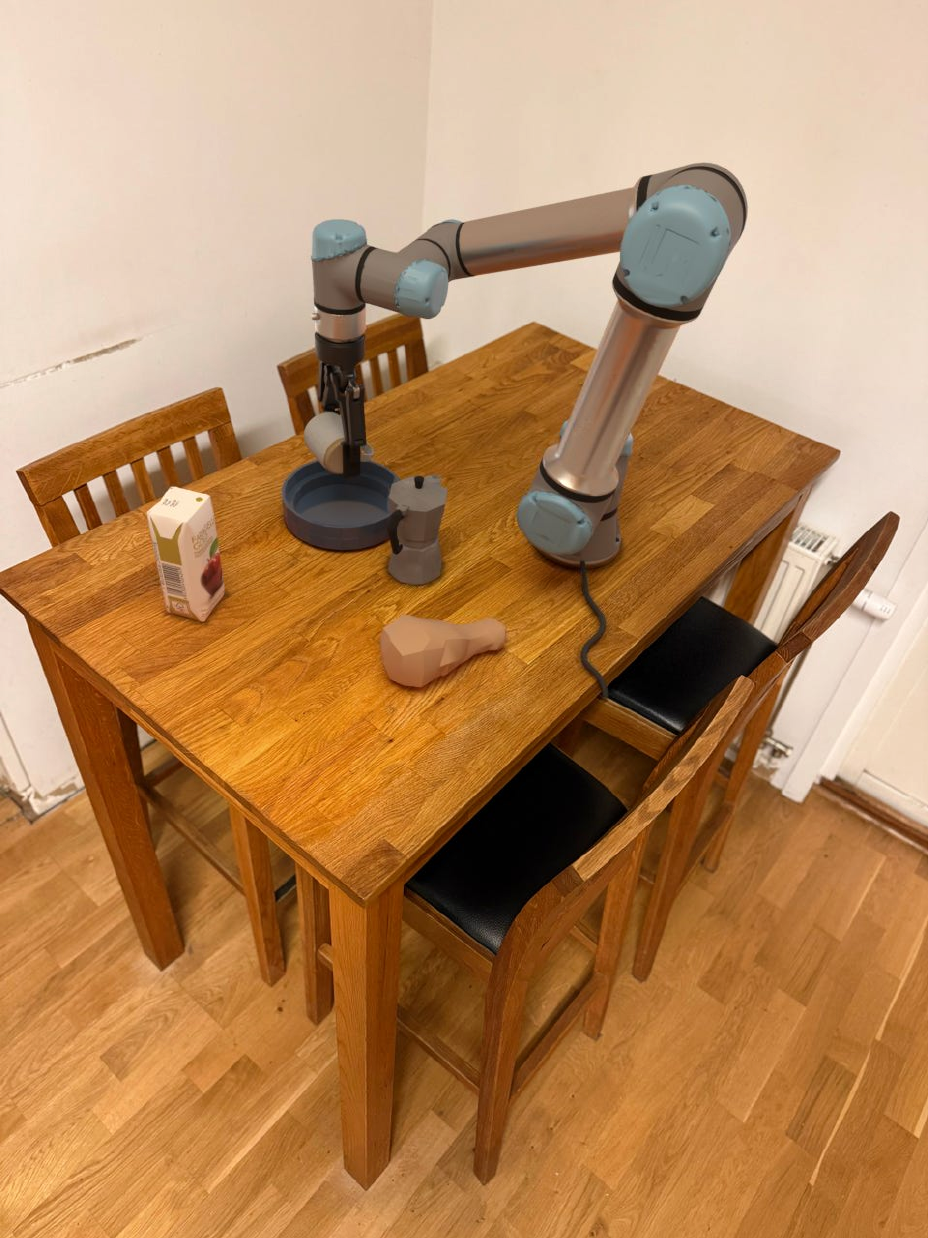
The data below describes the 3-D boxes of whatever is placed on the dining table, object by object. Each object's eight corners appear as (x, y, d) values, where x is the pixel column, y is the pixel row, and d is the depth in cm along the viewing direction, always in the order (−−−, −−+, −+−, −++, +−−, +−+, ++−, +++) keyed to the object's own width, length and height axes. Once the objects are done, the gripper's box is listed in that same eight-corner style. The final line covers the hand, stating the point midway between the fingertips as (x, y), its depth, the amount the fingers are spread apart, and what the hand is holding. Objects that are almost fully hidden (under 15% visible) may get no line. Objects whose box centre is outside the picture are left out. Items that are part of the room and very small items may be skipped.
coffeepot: (409, 537, 152) (413, 447, 140) (458, 556, 150) (466, 466, 137) (362, 588, 142) (361, 495, 130) (413, 608, 139) (418, 516, 127)
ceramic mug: (324, 481, 143) (323, 440, 138) (303, 455, 148) (302, 415, 143) (382, 467, 148) (384, 427, 143) (360, 442, 153) (361, 402, 147)
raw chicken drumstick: (363, 662, 130) (365, 610, 126) (476, 634, 140) (483, 585, 136) (397, 703, 123) (401, 648, 118) (515, 670, 133) (523, 619, 128)
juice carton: (159, 615, 134) (137, 514, 121) (188, 580, 140) (169, 480, 127) (205, 627, 133) (188, 526, 120) (231, 592, 139) (217, 492, 126)
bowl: (422, 537, 153) (423, 511, 149) (306, 565, 145) (305, 539, 141) (376, 472, 166) (377, 447, 162) (268, 495, 158) (266, 469, 154)
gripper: (293, 304, 137) (299, 431, 153) (341, 368, 124) (343, 500, 139) (339, 299, 140) (340, 424, 155) (390, 360, 127) (387, 491, 142)
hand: (342, 460), depth 147 cm, fingers closed on ceramic mug, 8 cm apart
